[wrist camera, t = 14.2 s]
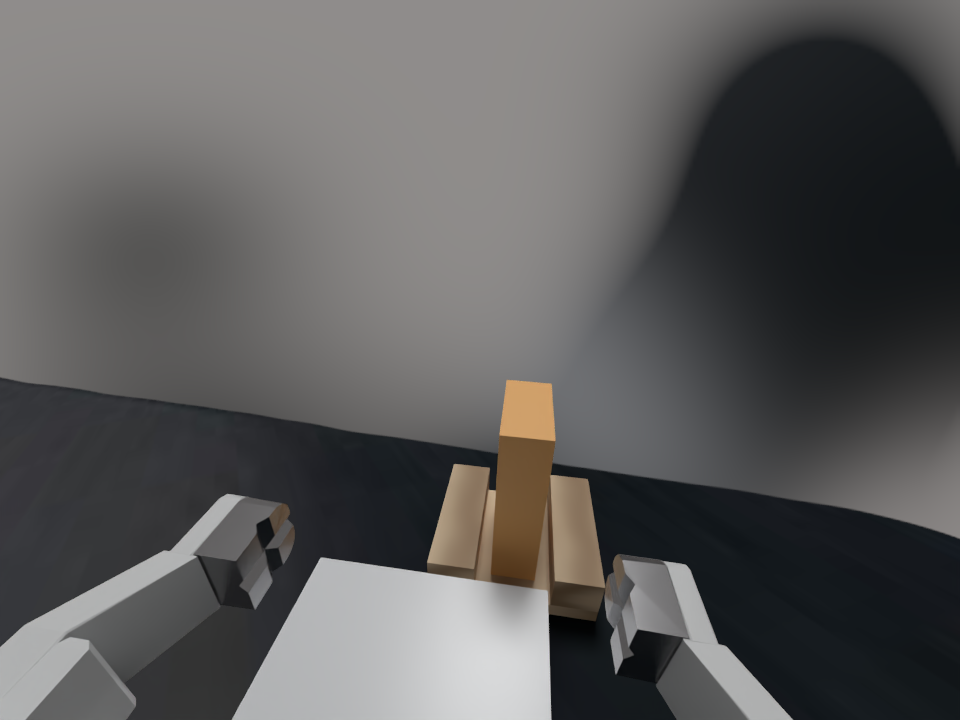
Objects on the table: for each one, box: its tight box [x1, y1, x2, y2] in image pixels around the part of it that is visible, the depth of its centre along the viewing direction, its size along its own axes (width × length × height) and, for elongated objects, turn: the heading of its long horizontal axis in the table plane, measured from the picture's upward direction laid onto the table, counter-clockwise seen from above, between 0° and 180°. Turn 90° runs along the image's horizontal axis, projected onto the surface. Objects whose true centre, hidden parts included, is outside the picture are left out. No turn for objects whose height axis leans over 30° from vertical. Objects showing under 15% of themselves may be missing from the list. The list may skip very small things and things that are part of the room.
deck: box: [232, 558, 551, 720], centre depth 20 cm, size 14×10×4 cm
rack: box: [427, 464, 605, 621], centre depth 28 cm, size 11×9×4 cm
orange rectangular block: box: [491, 380, 555, 581], centre depth 26 cm, size 3×6×12 cm, turn 173°
